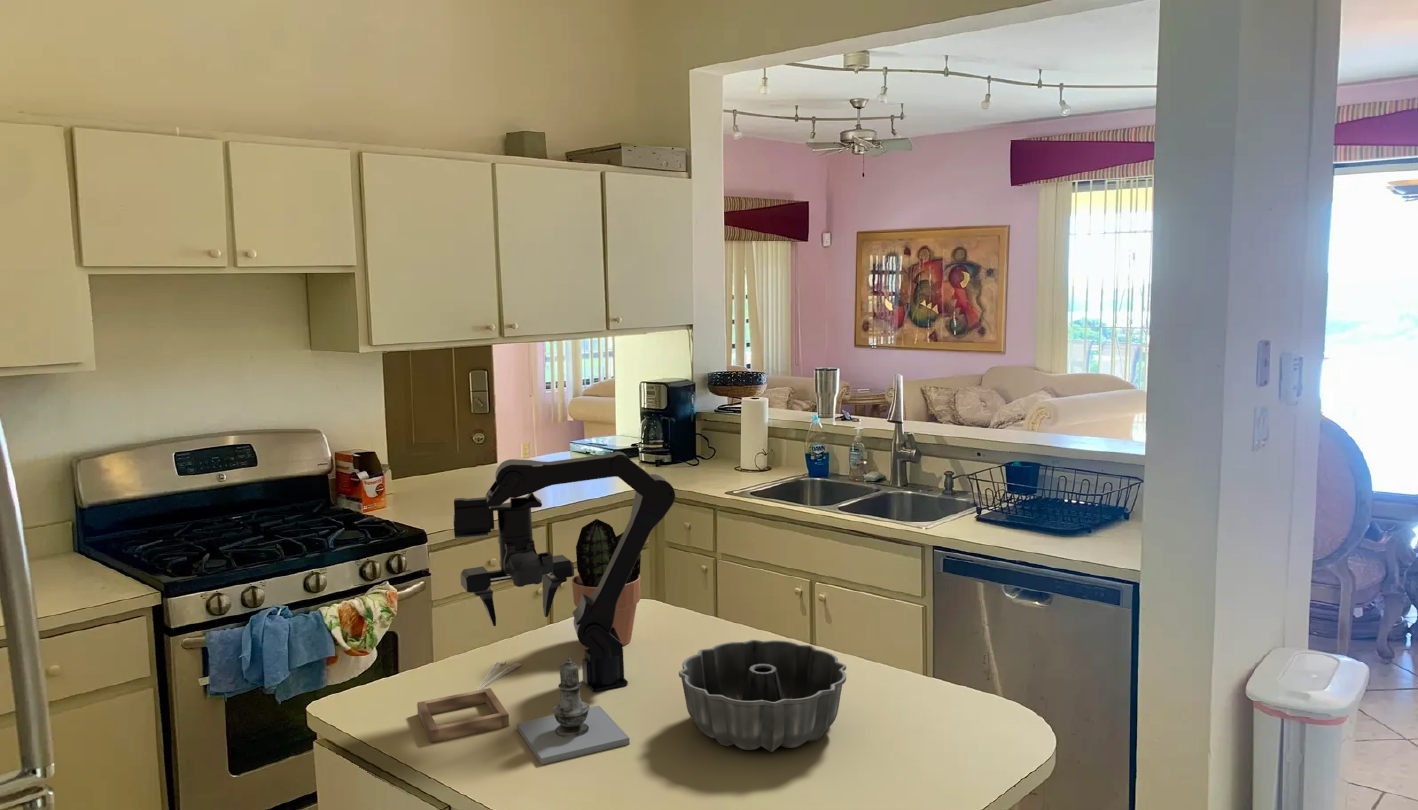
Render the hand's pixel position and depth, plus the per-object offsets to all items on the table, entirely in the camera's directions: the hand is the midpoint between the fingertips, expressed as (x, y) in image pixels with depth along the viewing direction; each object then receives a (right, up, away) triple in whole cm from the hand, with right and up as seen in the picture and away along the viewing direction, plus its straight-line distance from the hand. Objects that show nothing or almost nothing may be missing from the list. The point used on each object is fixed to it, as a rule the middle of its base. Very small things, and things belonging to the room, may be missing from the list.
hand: (520, 621), depth 174 cm
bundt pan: (+42, -14, -15) cm, 47 cm away
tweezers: (-7, -13, +7) cm, 17 cm away
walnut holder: (-8, -14, -9) cm, 19 cm away
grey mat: (+11, -15, -17) cm, 25 cm away
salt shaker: (+11, -14, -17) cm, 24 cm away
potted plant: (+13, -10, +26) cm, 31 cm away
